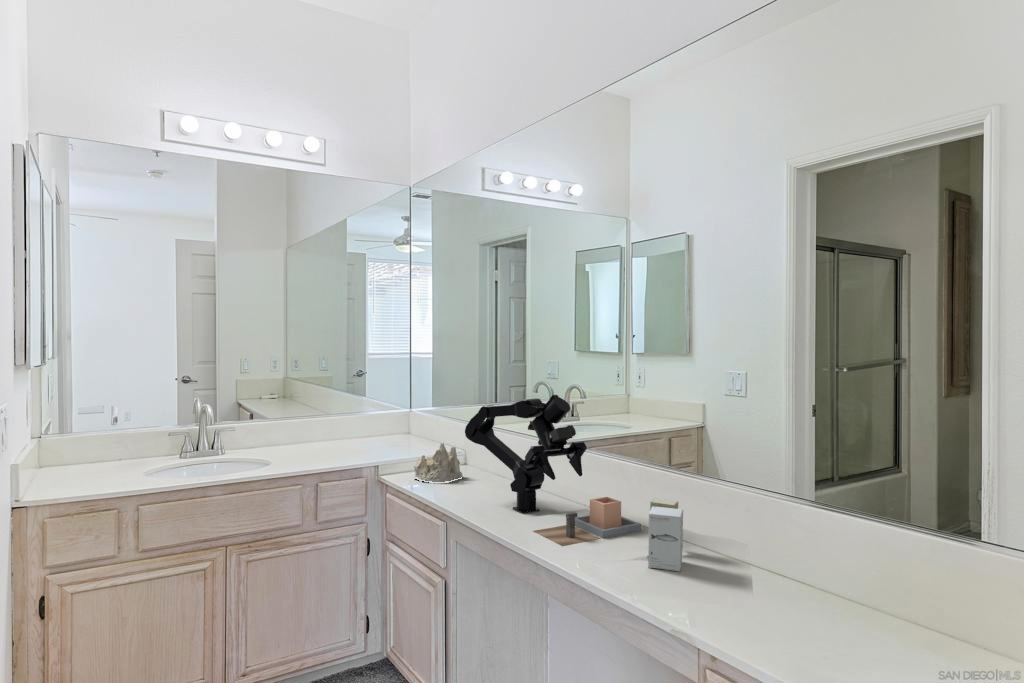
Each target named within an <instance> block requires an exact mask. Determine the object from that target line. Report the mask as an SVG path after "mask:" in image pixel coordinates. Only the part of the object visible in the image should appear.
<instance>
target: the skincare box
mask: <svg viewBox="0 0 1024 683" xmlns="http://www.w3.org/2000/svg"><path fill="white" fill-rule="evenodd" d="M649 502H650V508H649V512H650V511H651V508H652V506H654V507H664V508H674V509H679V501H678V500H671V499H666V498H664V499H663V498H658V497H657V498H656V497H654V498H653V499H652V500H651V501H649Z"/></svg>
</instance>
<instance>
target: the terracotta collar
mask: <svg viewBox="0 0 1024 683" xmlns="http://www.w3.org/2000/svg"><path fill="white" fill-rule="evenodd" d="M589 515H590V522H589V524H591V525H594V526H596V527H598V528H601V529H603V530H604V529H609V528H614V527H620V526H622V525H621V516H622V501H620V500H618V499H615V498H611V497H608V496H604V497H597V498H590V499H589Z"/></svg>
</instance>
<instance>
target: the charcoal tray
mask: <svg viewBox="0 0 1024 683" xmlns="http://www.w3.org/2000/svg"><path fill="white" fill-rule="evenodd" d="M575 527H576V528H579V529H581V530H583V531H585V532H588V533H590V534H592V535H594V536H597V537H599V538H601V539H606V538H612V537H617V536H622V535H626V534H632V533H638V532H642V523H640V522H637V521H635V520H632V519H629V518H626V517H624V516H622V515H621V526H620V527H614V528H609V529H604V530H603V529H601V528H598V527H596V526H594V525H591V524H590V514H585V515H579V516H578V515H577V517H575Z"/></svg>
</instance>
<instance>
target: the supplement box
mask: <svg viewBox="0 0 1024 683" xmlns="http://www.w3.org/2000/svg"><path fill="white" fill-rule="evenodd" d="M683 535H684V509H682V508H678V509H674V508H664V507H654V506H652V508H651V511H650V510H649V513H648V556H647V557H648V561H647V562H648V563H647V564H648V565H647V566H648V568H649V569H650V568H651V569H660V570H667V571H674V572H679V573H680V572H681V568H682V563H683V551H684V550H683V545H684V543H683V542H684V541H683V540H684V538H683Z"/></svg>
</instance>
